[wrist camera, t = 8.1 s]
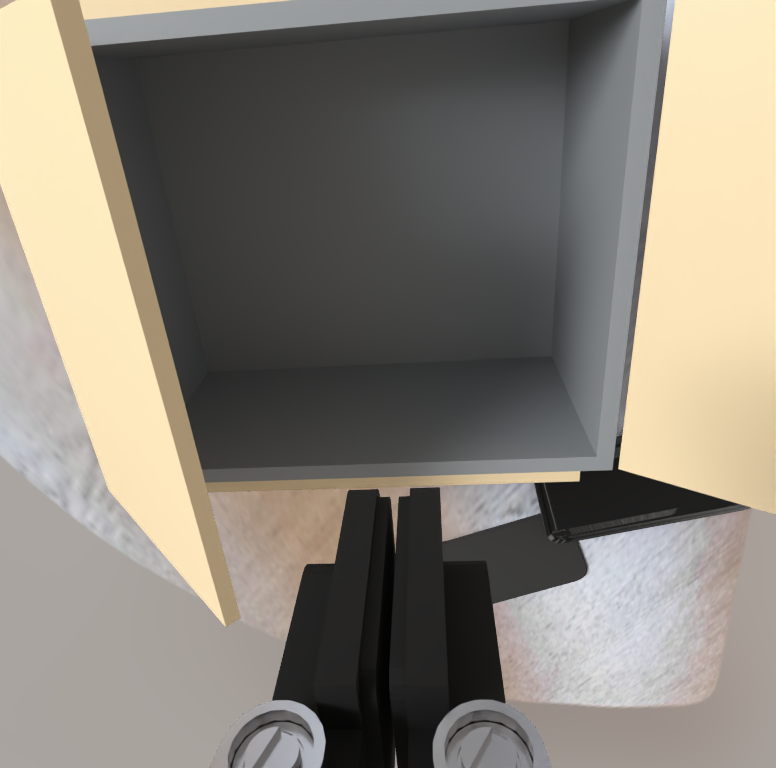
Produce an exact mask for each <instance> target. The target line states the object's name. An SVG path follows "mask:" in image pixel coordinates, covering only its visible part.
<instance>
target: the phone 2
mask: <svg viewBox="0 0 776 768" xmlns="http://www.w3.org/2000/svg"><path fill="white" fill-rule="evenodd" d="M621 443H622V436H618V437H616V444H615V452H614V461H613V469H612V470H600V471H580V480H579V481H573V482H539V483H534V484H535V488H536V493H537V497H538V502H539V506H540V510H541V514H542V519H543V523H544V527H545V531H546V535H547V537H548V538H549V539H550V540H551V541H553V542H555V543H568V542H573V541H578V540H584V539H589V538H595V537H600V536H605V535H611V534H616V533H622V532H627V531H632V530H638V529H643V528H649V527H654V526H660V525H665V524H670V523H676V522H681V521H687V520H692V519H697V518H703V517H708V516H714V515H719V514H725V513H730V512H736V511H741V510H745V509H749V508H751V507H748V506H745V505H741V504H738V503H734V502H731V501H727V500H724V499H720V498H717V497H713V496H710V495H706V494H703V493H700V492H696V491H693V490H689V489H686V488H682V487H679V486H675V485H672V484H668V483H665V482H662V481H658V480H655V479H651V478H648V477H644V476H641V475H637V474H634V473H630V472H627V471H624V470H620V469H618V468H619V460H620V451H621Z"/></svg>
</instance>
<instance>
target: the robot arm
mask: <svg viewBox="0 0 776 768" xmlns="http://www.w3.org/2000/svg"><path fill="white" fill-rule="evenodd" d="M395 747H396V756H397V765H398V768H552V766H551V763H550V760H549V757H548V754H547V751H546V748H545V745H544V742H543V740H542V738H541V736H540V735H539V733H538V731H537V729H536V727H535V726H534V725H533V723H532V722H531V721H530V720H529V719H528V718H527V717H526V716H525V715H524V714H523V713H521V712H520V711H518V710H517V709H515V708H513V707H512V706H510V705H508V704H506V703H505V695H504V687H503V680H502V672H501V665H500V657H499V650H498V642H497V635H496V627H495V620H494V612H493V605H492V597H491V590H490V582H489V575H488V568H487V563H486V561H443V550H442V527H441V504H440V487H439V488H411V489H410V496H405V497H399V503H398V520H397V538H396V554H395V543H394V531H393V520H392V509H391V499H390V497H380V494H379V490H378V489H372V490H349V491H348V494H347V499H346V505H345V510H344V516H343V521H342V527H341V532H340V538H339V544H338V549H337V555H336V560H335V564H307V565H306V567H305V568H304V572H303V575H302V579H301V583H300V587H299V591H298V595H297V600H296V604H295V608H294V612H293V616H292V620H291V624H290V629H289V633H288V637H287V641H286V645H285V650H284V654H283V658H282V662H281V666H280V670H279V674H278V678H277V683H276V687H275V691H274V695H273V700H272V701H270V702H267V703H264V704H260V705H257V706H256V707H254V708H252V709H251V710H249V711H247V712H246V713H244V714H243V715H242V716H241V717H239V718H238V720H236V721H235V722H234V723H233V724H232V725H231V726H230V728H229V729H228V731H227V733H226V734H225V736H224V738H223V739H222V741H221V743H220V745H219V747H218V749H217V751H216V754H215V756H214V758H213V760H212V762H211V764H210V767H209V768H394V767H395Z"/></svg>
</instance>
